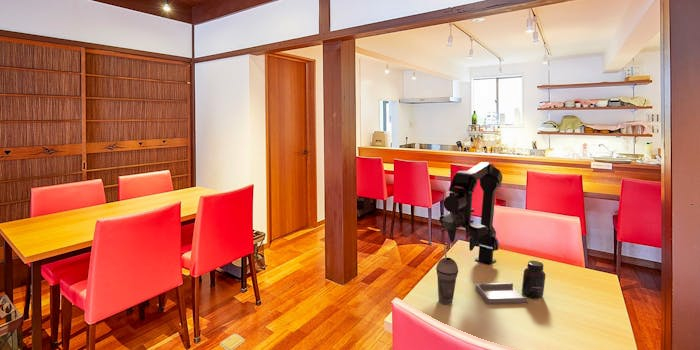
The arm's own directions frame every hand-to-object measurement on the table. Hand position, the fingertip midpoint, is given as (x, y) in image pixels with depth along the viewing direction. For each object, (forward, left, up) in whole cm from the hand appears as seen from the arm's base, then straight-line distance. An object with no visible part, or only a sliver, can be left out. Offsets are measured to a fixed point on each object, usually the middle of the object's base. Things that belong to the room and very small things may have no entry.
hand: (461, 246), depth 132 cm
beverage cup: (+16, +5, -14) cm, 22 cm away
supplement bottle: (-11, +22, -14) cm, 29 cm away
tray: (-2, +15, -14) cm, 21 cm away
